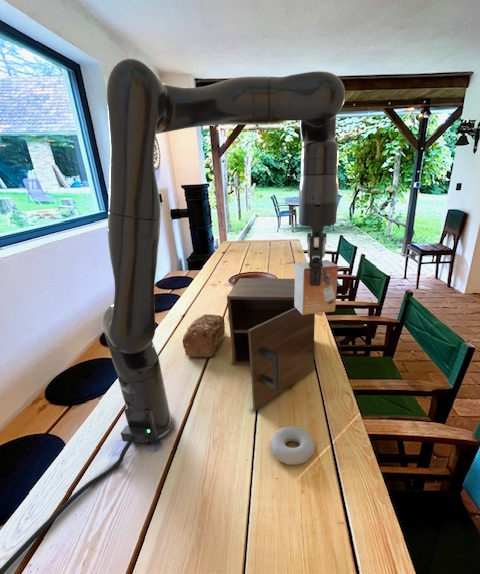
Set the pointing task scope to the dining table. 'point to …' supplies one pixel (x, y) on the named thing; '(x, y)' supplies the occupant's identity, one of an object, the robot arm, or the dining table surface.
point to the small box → (315, 289)
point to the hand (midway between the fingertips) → (315, 279)
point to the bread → (204, 336)
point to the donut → (292, 454)
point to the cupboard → (255, 309)
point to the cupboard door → (280, 354)
